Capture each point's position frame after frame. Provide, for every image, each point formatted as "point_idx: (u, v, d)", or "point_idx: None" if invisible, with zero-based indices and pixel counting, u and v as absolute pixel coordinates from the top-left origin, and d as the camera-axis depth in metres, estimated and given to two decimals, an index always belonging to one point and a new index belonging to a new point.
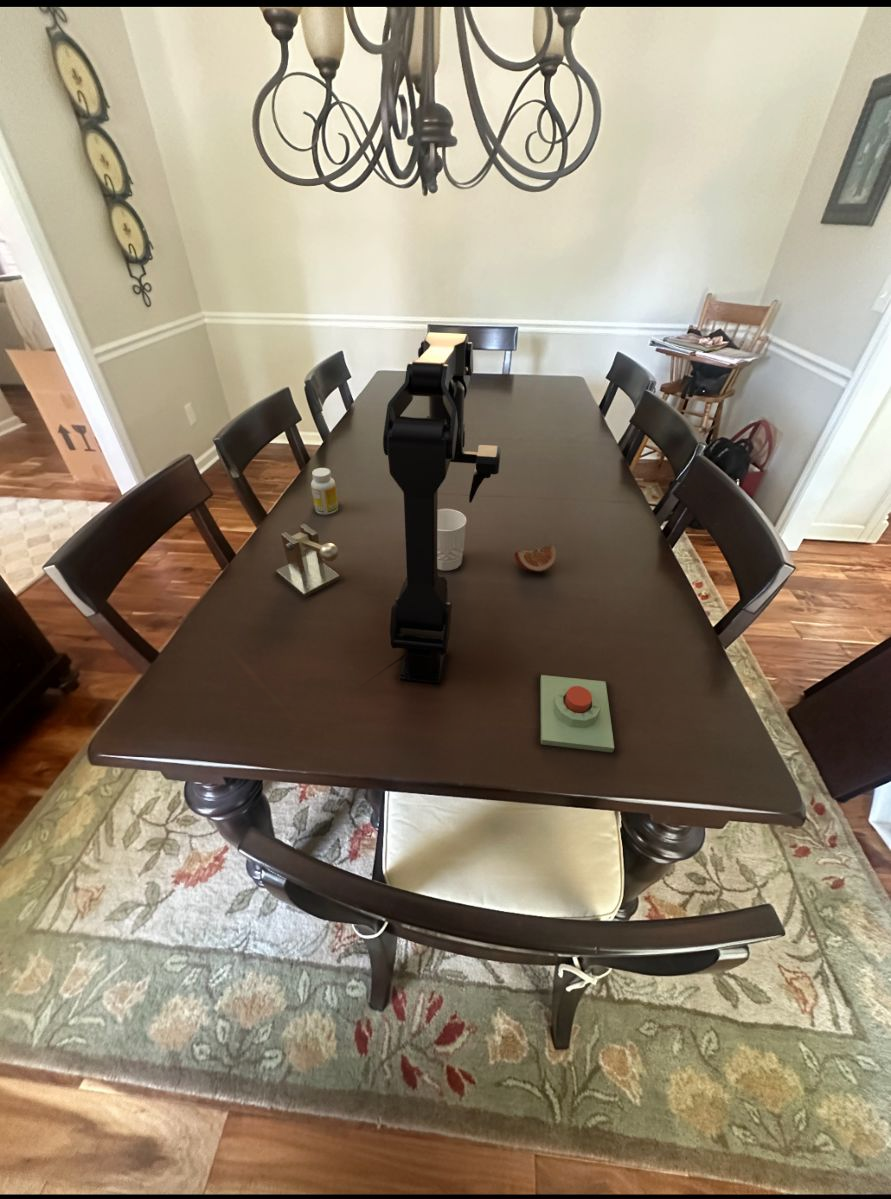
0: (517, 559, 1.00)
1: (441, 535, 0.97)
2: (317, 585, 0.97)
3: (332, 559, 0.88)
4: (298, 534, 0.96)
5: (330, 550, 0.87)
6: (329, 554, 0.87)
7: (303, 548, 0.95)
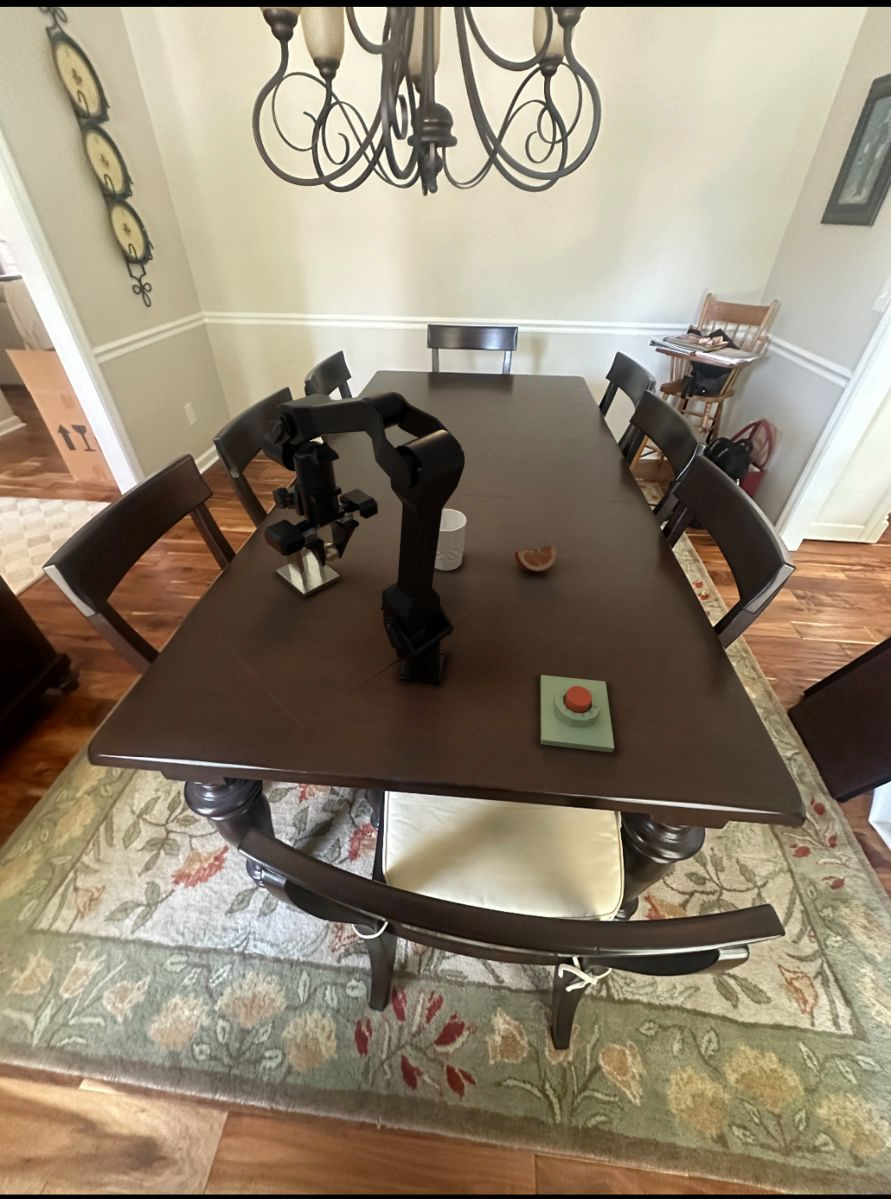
0: (517, 559, 1.00)
1: (441, 535, 0.97)
2: (317, 585, 0.97)
3: (332, 559, 0.88)
4: None
5: (330, 550, 0.87)
6: (329, 554, 0.87)
7: (303, 548, 0.95)
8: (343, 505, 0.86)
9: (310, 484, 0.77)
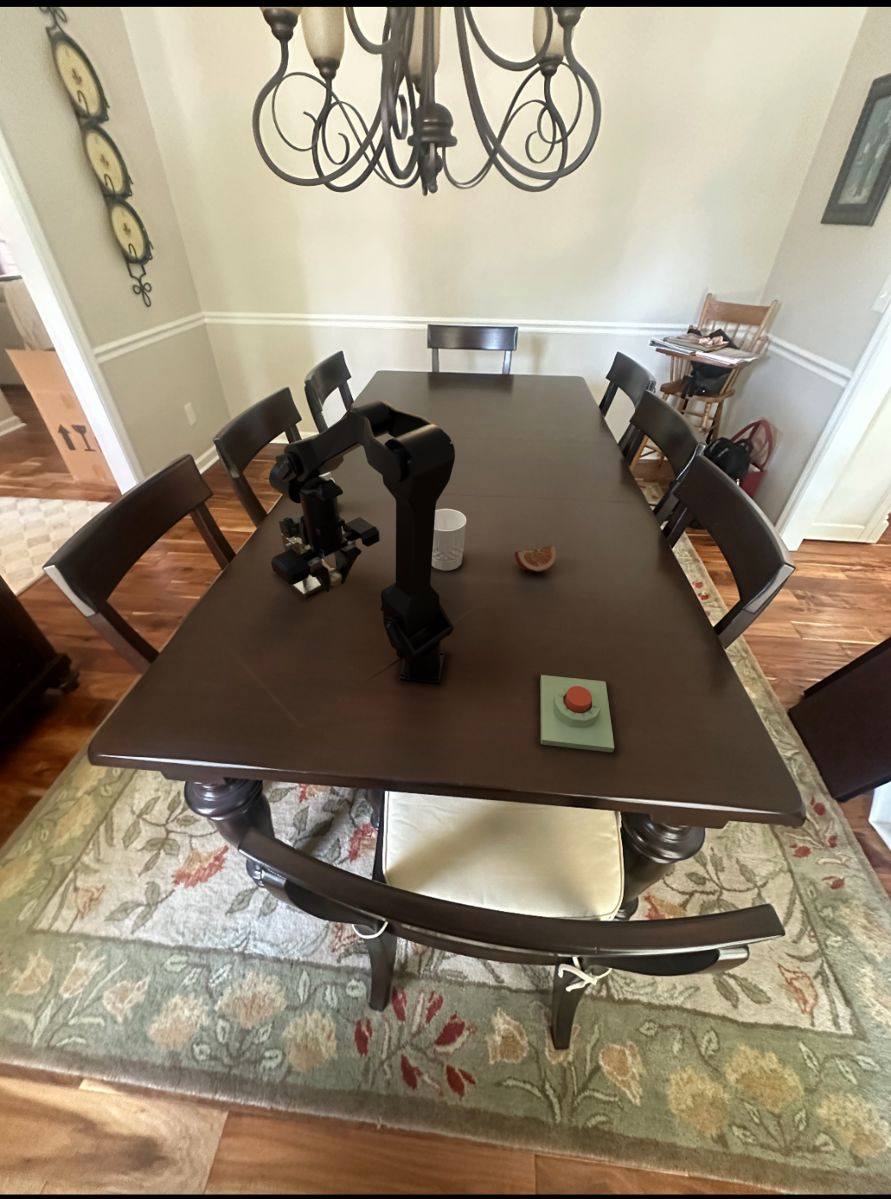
0: (517, 559, 1.00)
1: (441, 535, 0.97)
2: (317, 585, 0.97)
3: (335, 585, 0.92)
4: None
5: (336, 579, 0.91)
6: (334, 582, 0.91)
7: (302, 550, 0.95)
8: (346, 534, 0.90)
9: (315, 517, 0.81)
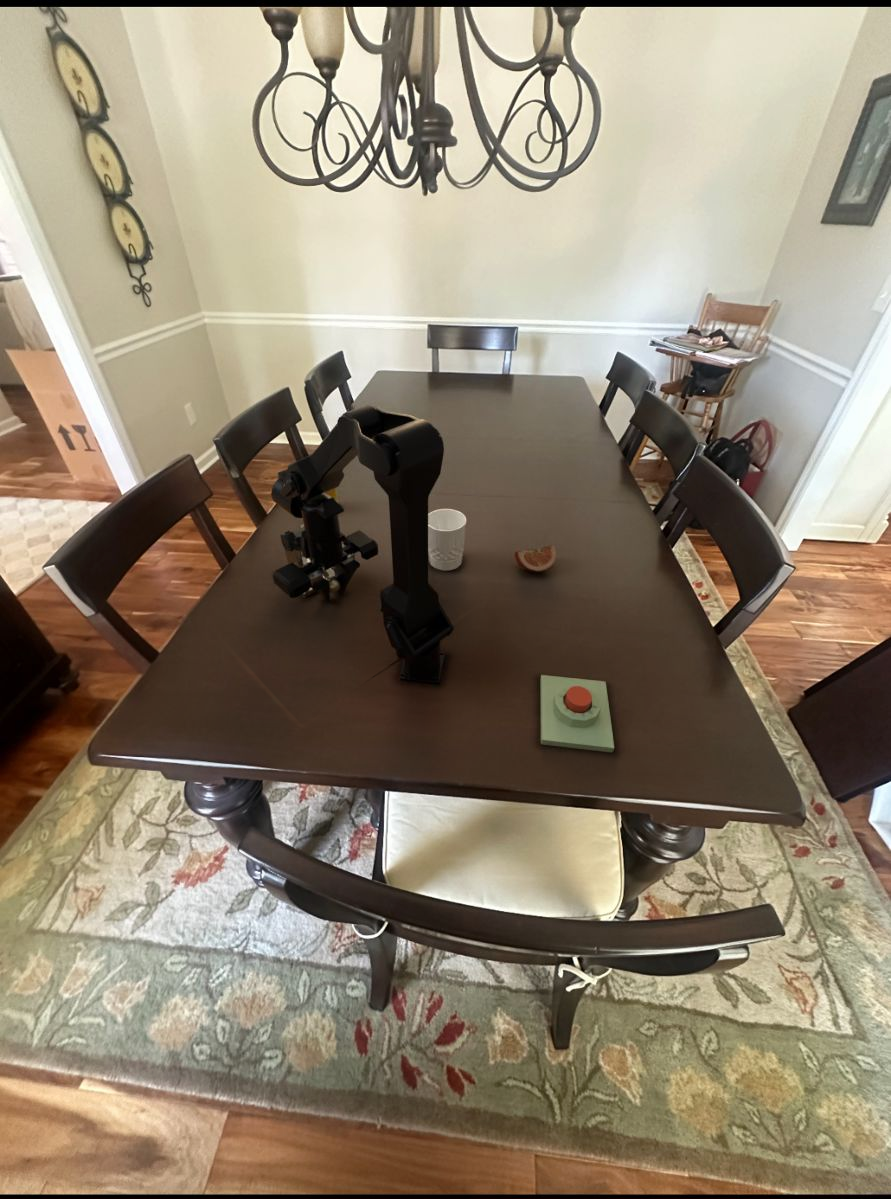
0: (517, 559, 1.00)
1: (441, 535, 0.97)
2: None
3: None
4: None
5: (335, 588, 0.93)
6: (332, 591, 0.94)
7: None
8: (346, 547, 0.92)
9: (316, 533, 0.84)
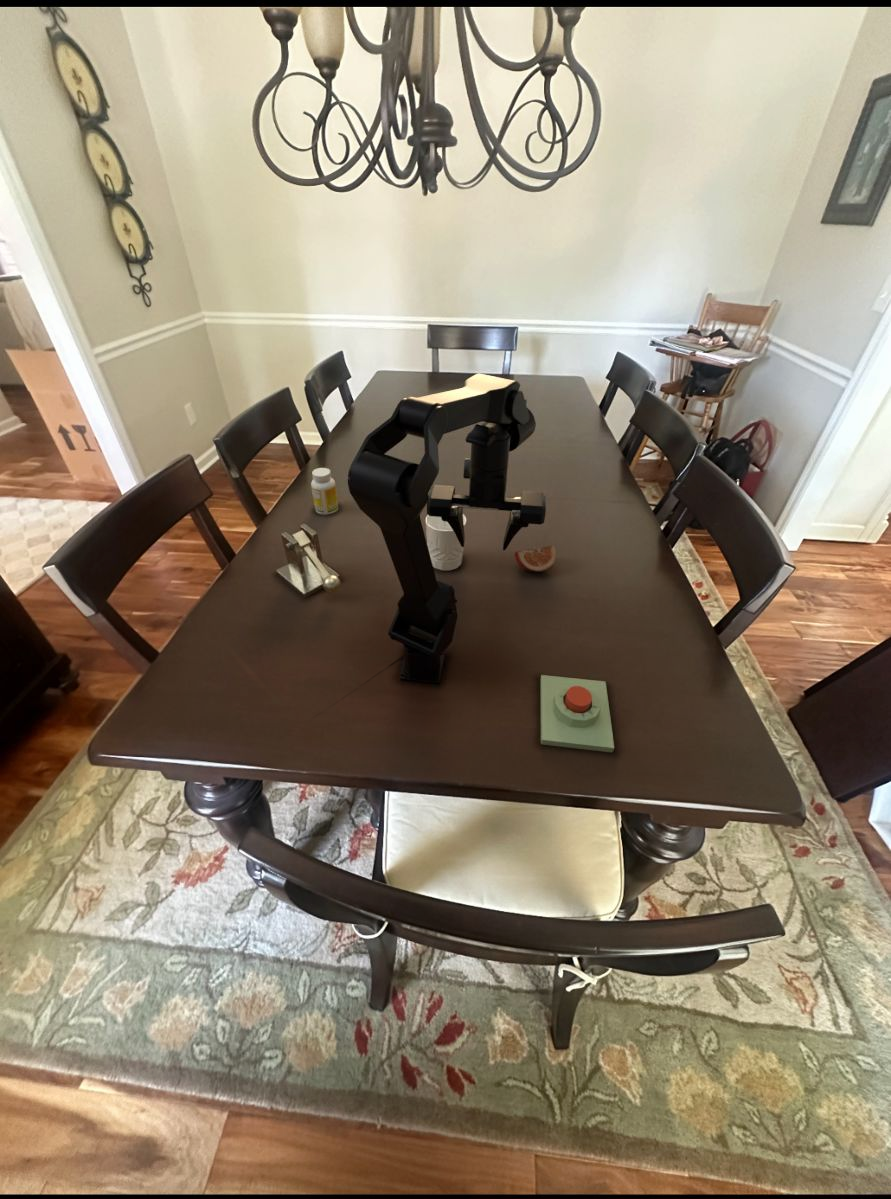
0: (517, 559, 1.00)
1: (441, 535, 0.97)
2: (317, 585, 0.97)
3: (332, 592, 0.95)
4: (301, 534, 0.95)
5: (335, 588, 0.93)
6: (333, 591, 0.94)
7: (301, 550, 0.96)
8: (512, 500, 0.82)
9: (471, 458, 0.77)
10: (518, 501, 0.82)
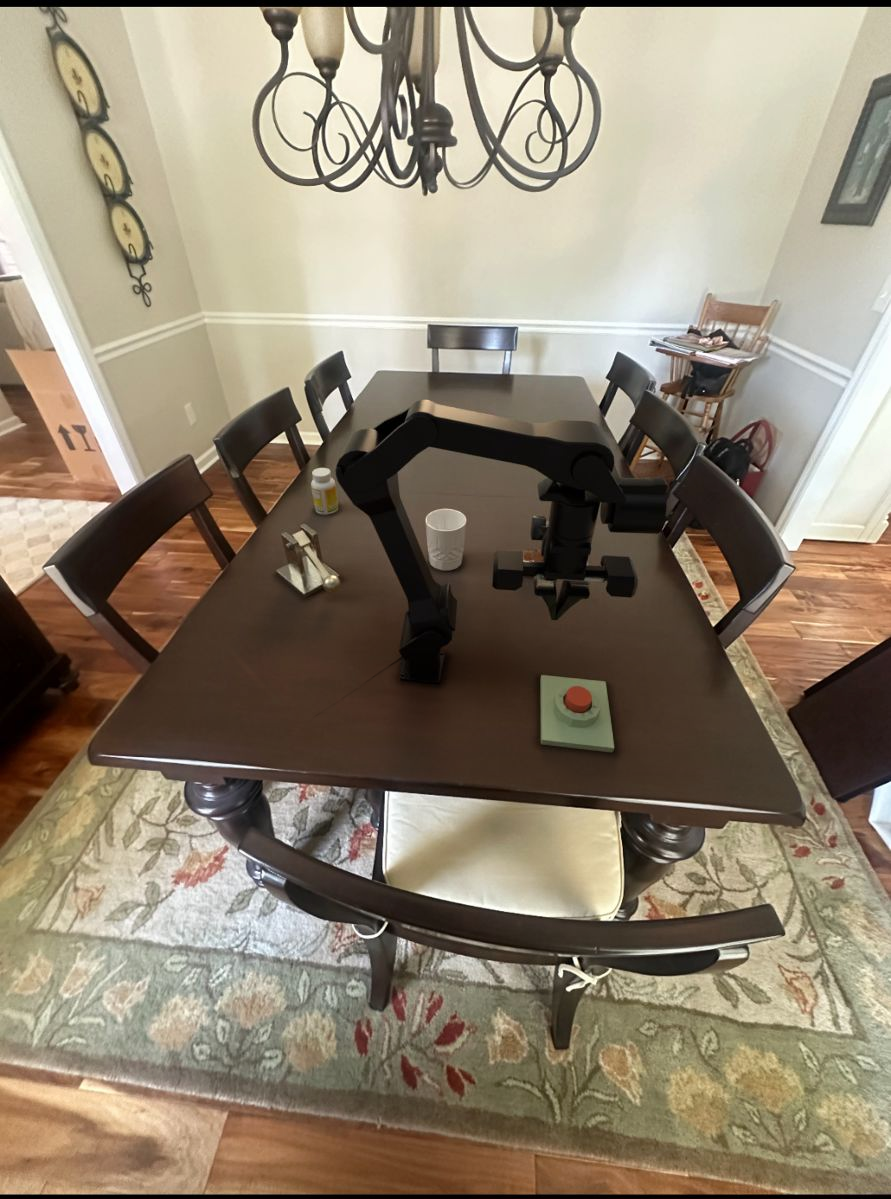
0: None
1: (441, 535, 0.97)
2: (317, 585, 0.97)
3: (332, 592, 0.95)
4: (301, 534, 0.95)
5: (335, 588, 0.93)
6: (333, 591, 0.94)
7: (301, 550, 0.96)
8: (595, 568, 0.68)
9: None
10: (602, 569, 0.68)
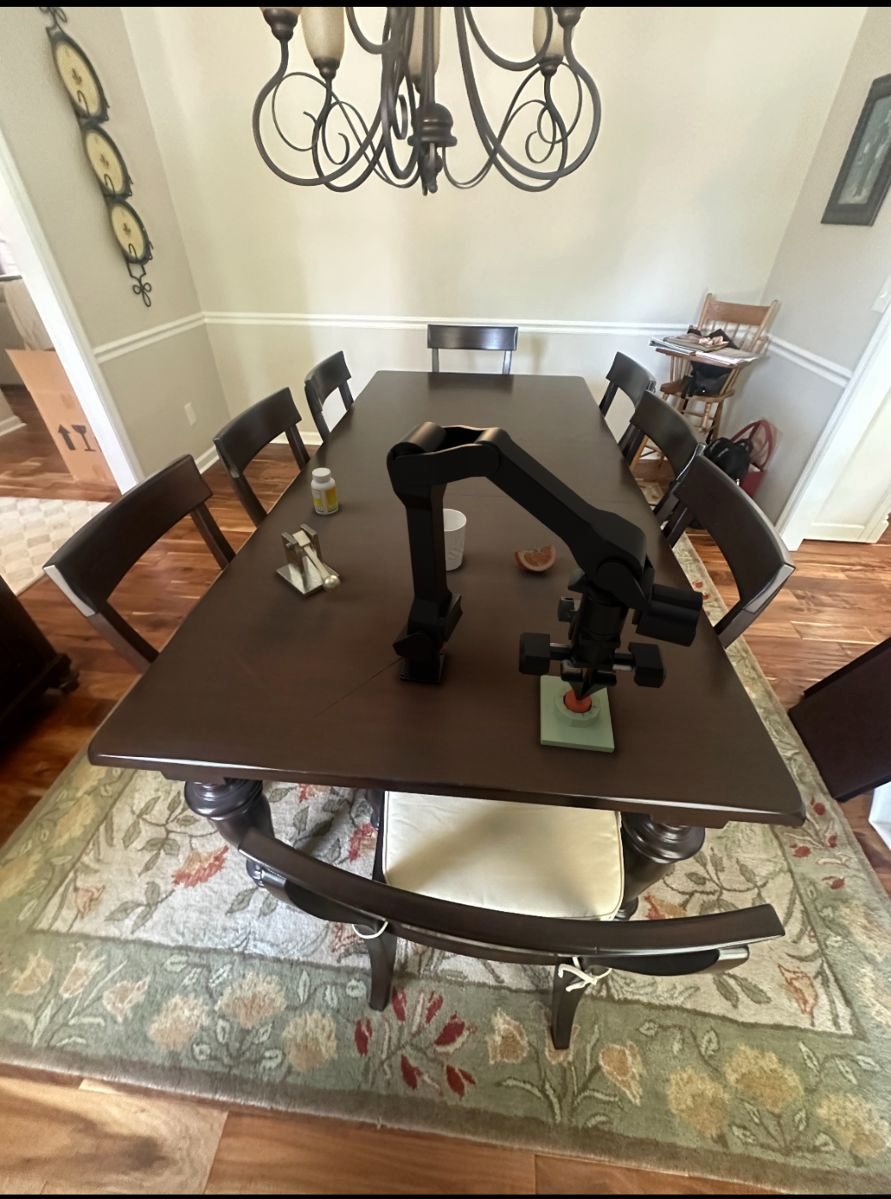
0: (517, 559, 1.00)
1: None
2: (317, 585, 0.97)
3: (332, 592, 0.95)
4: (301, 534, 0.95)
5: (335, 588, 0.93)
6: (333, 591, 0.94)
7: (301, 550, 0.96)
8: (623, 655, 0.68)
9: None
10: (630, 657, 0.68)
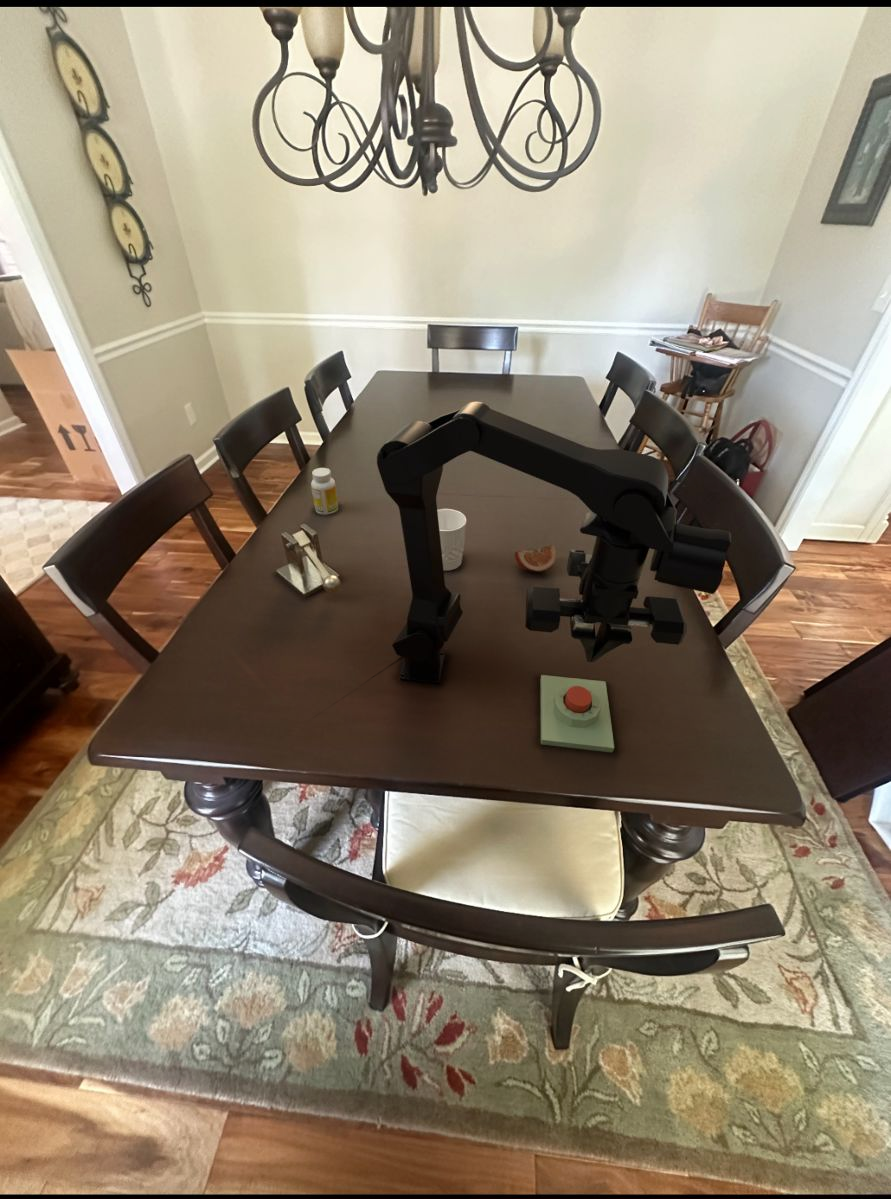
0: (517, 559, 1.00)
1: (441, 535, 0.97)
2: (317, 585, 0.97)
3: (332, 592, 0.95)
4: (301, 534, 0.95)
5: (335, 588, 0.93)
6: (333, 591, 0.94)
7: (301, 550, 0.96)
8: (639, 610, 0.62)
9: None
10: (647, 612, 0.62)
